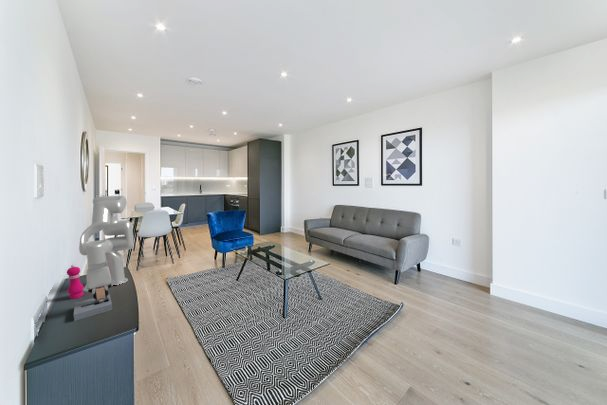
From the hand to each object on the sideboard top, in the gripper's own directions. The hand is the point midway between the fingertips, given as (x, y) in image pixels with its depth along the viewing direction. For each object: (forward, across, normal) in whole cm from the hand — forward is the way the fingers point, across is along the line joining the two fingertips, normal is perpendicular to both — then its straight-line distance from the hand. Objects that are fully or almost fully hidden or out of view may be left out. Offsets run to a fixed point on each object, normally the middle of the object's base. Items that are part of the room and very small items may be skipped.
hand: (101, 298), depth 135 cm
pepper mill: (+5, +11, -28) cm, 31 cm away
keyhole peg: (+5, 0, 0) cm, 5 cm away
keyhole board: (+5, +4, 0) cm, 6 cm away
